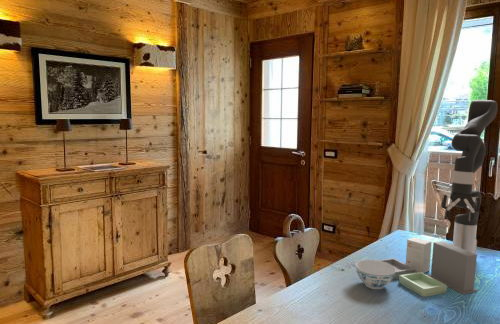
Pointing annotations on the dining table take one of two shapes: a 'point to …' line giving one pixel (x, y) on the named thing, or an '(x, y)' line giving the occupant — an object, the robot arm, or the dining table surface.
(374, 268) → the chinaware
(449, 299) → the dining table surface
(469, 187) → the robot arm
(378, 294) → the dining table surface
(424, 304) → the dining table surface
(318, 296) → the dining table surface
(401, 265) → the grey tray
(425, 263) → the small box
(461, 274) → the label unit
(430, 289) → the sage tray
